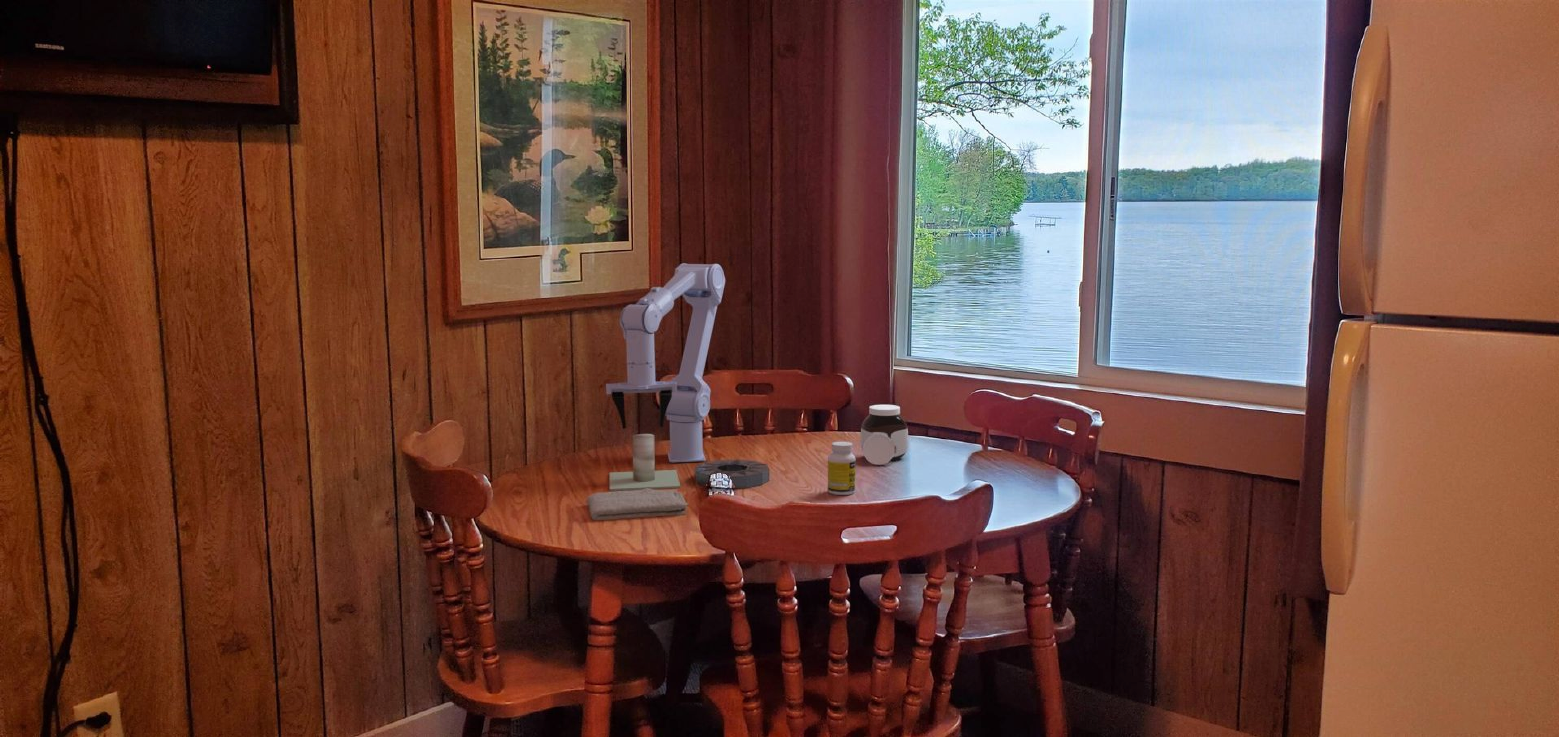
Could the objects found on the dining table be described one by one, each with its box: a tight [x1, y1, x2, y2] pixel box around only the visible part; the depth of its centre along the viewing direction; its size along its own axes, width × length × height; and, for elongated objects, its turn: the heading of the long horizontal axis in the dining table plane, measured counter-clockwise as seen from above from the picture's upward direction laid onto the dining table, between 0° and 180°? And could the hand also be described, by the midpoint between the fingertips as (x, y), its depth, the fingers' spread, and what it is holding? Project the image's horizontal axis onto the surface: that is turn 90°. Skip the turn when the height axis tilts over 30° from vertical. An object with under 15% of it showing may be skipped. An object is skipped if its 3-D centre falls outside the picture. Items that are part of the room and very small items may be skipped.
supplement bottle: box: [827, 441, 856, 496], centre depth 212 cm, size 5×5×10 cm
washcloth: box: [585, 488, 689, 522], centre depth 201 cm, size 12×18×3 cm, turn 104°
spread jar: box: [860, 404, 909, 466], centre depth 240 cm, size 12×11×12 cm
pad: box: [609, 469, 681, 492], centre depth 223 cm, size 14×14×1 cm
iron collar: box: [694, 459, 770, 489], centre depth 224 cm, size 15×15×2 cm
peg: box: [632, 433, 656, 482], centre depth 222 cm, size 4×4×9 cm
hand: (642, 426), depth 227 cm, fingers open, 7 cm apart
